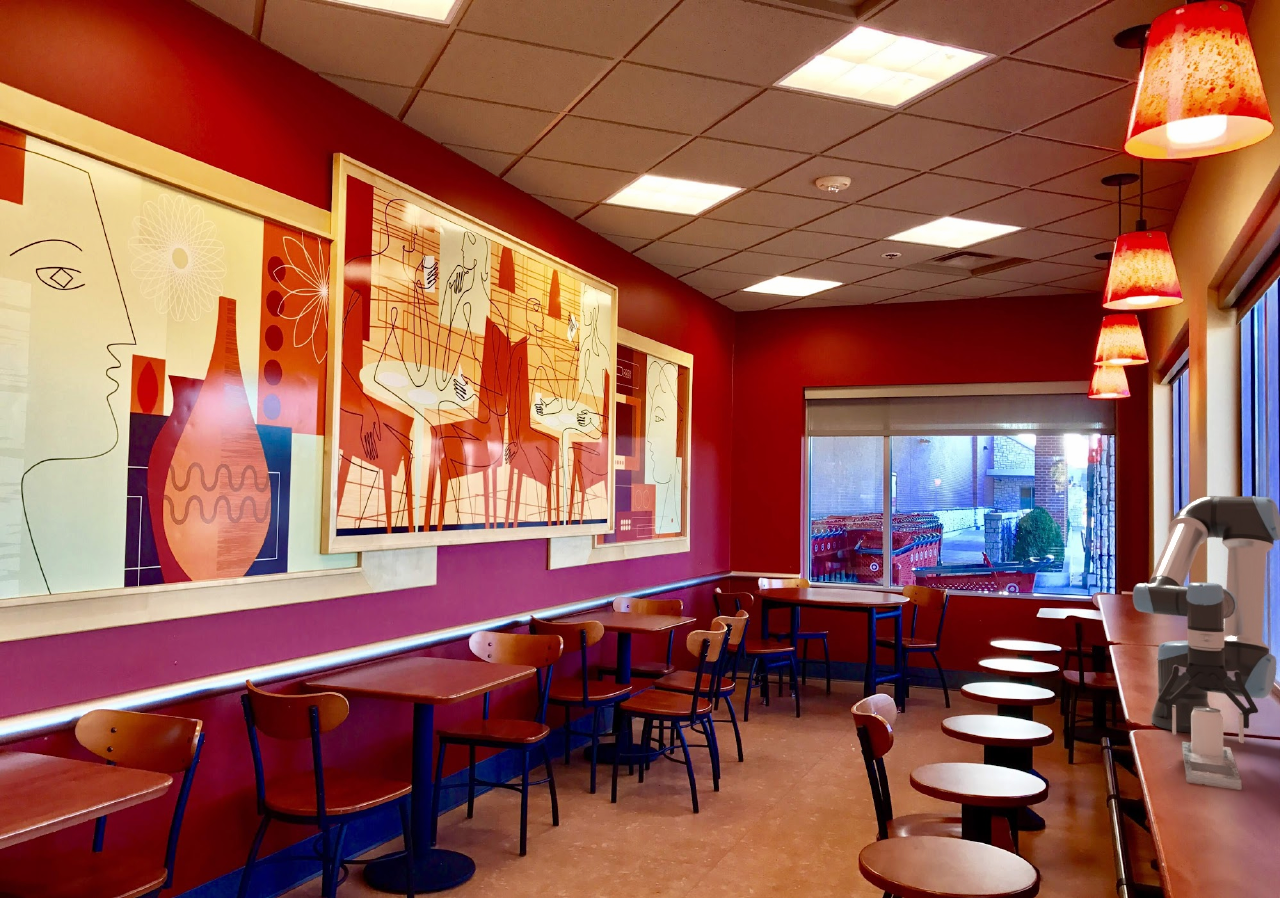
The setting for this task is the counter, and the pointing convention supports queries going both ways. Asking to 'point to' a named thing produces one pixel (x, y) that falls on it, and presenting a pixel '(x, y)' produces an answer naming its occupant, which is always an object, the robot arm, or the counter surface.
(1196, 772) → the holder
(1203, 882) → the counter surface
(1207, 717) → the can
